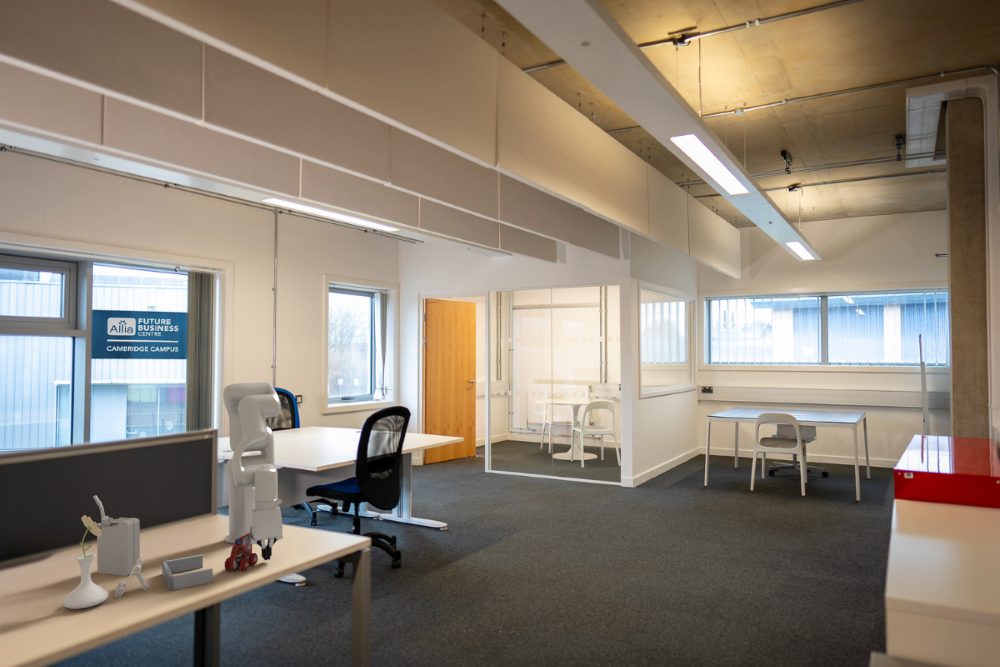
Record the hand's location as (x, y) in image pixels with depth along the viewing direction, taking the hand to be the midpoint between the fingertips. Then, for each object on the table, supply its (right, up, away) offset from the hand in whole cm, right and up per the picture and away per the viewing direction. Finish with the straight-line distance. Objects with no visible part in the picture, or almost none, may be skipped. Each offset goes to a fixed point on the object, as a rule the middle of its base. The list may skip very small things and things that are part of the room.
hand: (266, 558), depth 224 cm
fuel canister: (-48, -2, -7) cm, 48 cm away
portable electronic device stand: (-32, -2, -24) cm, 40 cm away
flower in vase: (-40, -2, -34) cm, 53 cm away
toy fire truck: (-7, -2, -5) cm, 8 cm away
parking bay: (-20, -1, -14) cm, 24 cm away
